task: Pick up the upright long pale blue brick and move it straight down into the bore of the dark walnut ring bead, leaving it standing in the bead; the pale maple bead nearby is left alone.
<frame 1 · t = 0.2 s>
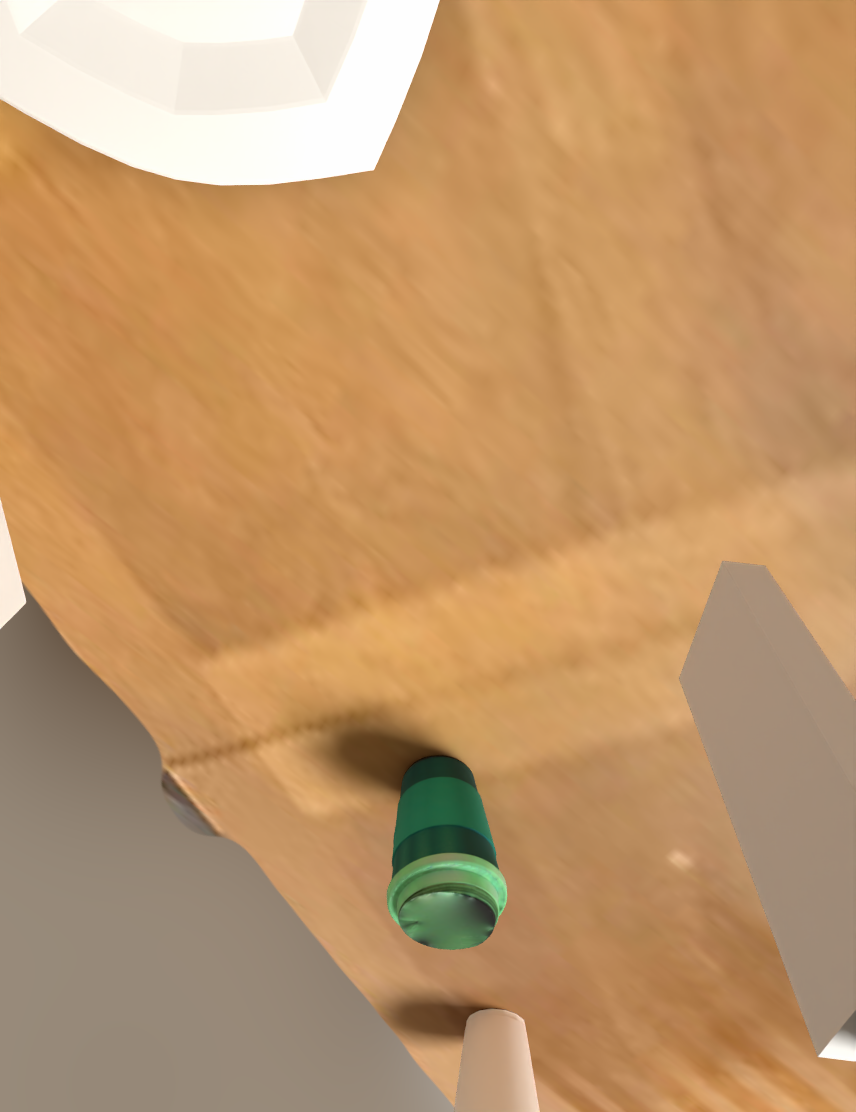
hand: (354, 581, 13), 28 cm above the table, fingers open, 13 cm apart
cup: (452, 775, 55), on the table
foam cup: (495, 1022, 74), on the table
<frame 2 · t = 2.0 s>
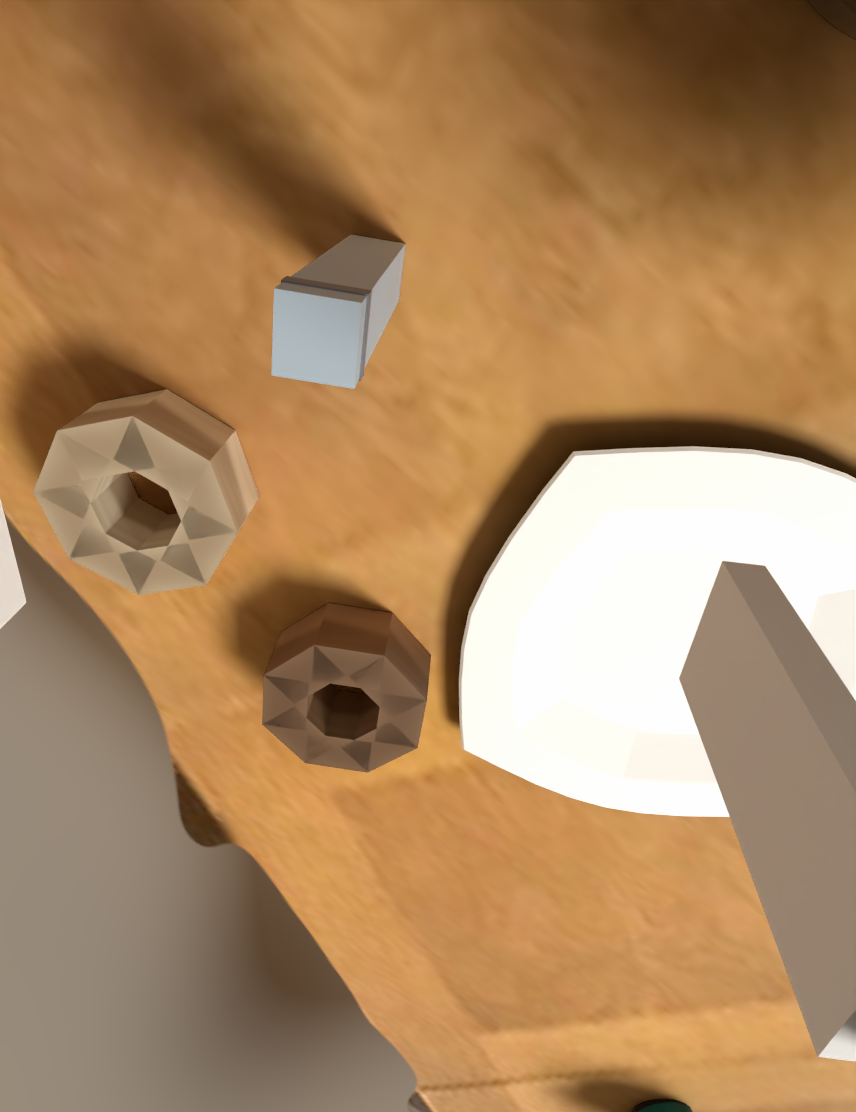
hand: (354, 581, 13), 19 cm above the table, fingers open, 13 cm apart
maple bead: (167, 478, 33), on the table
cup: (672, 1109, 64), on the table
long pale blue brick: (375, 268, 28), on the table
walnut bead: (353, 667, 39), on the table
plate: (676, 637, 37), on the table
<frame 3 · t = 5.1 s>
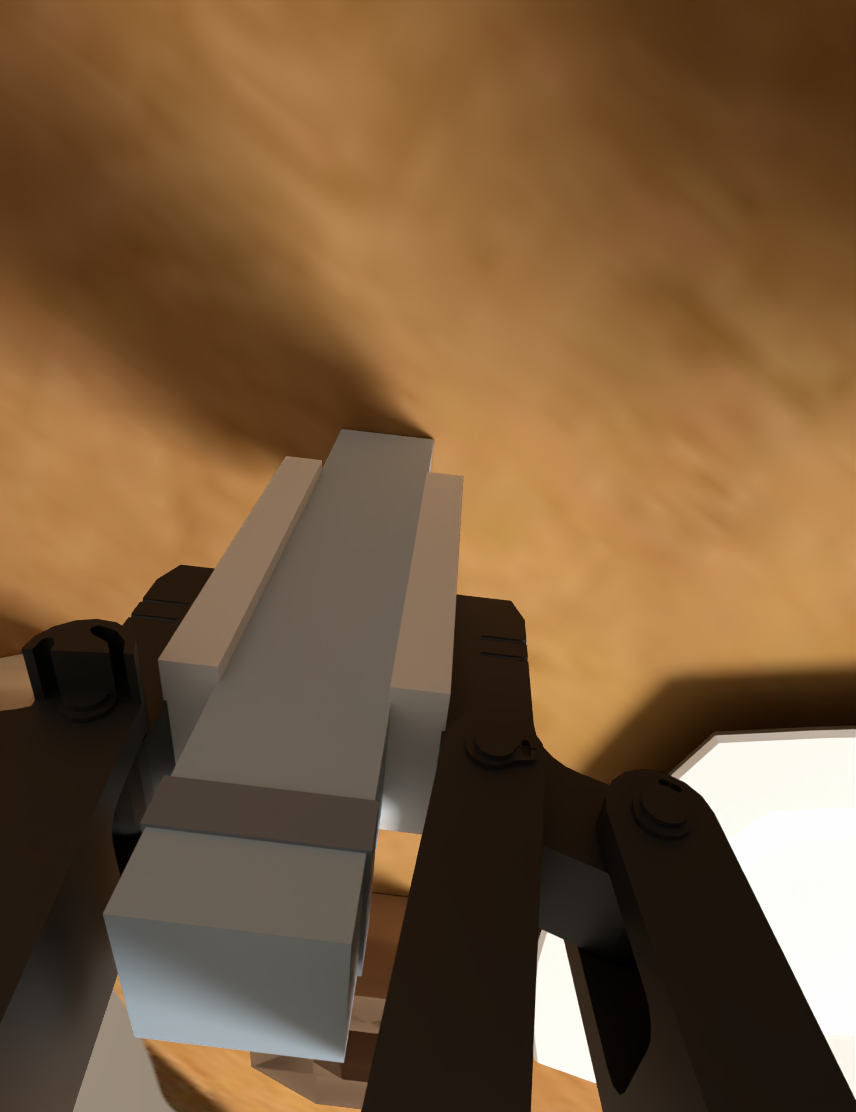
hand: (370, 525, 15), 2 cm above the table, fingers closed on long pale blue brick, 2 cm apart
maple bead: (92, 751, 23), on the table
long pale blue brick: (384, 476, 17), on the table, touching gripper
walnut bead: (377, 956, 28), on the table
plate: (845, 920, 25), on the table
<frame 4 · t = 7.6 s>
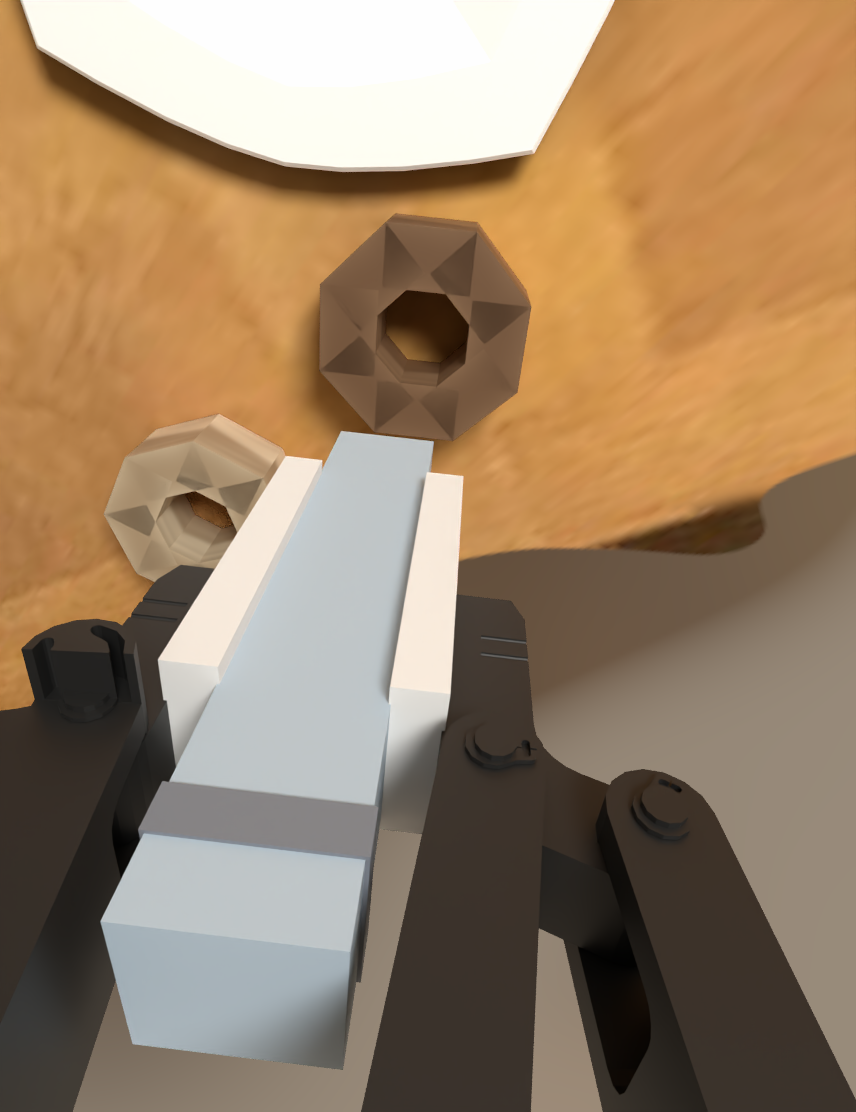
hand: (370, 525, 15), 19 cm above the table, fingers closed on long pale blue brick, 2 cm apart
maple bead: (220, 495, 36), on the table
long pale blue brick: (384, 478, 17), point 17 cm above the table, touching gripper
walnut bead: (427, 320, 31), on the table
when the fingers open (4 cm above the table, at t = 10.2 s): long pale blue brick drops 2 cm, resting in walnut bead.
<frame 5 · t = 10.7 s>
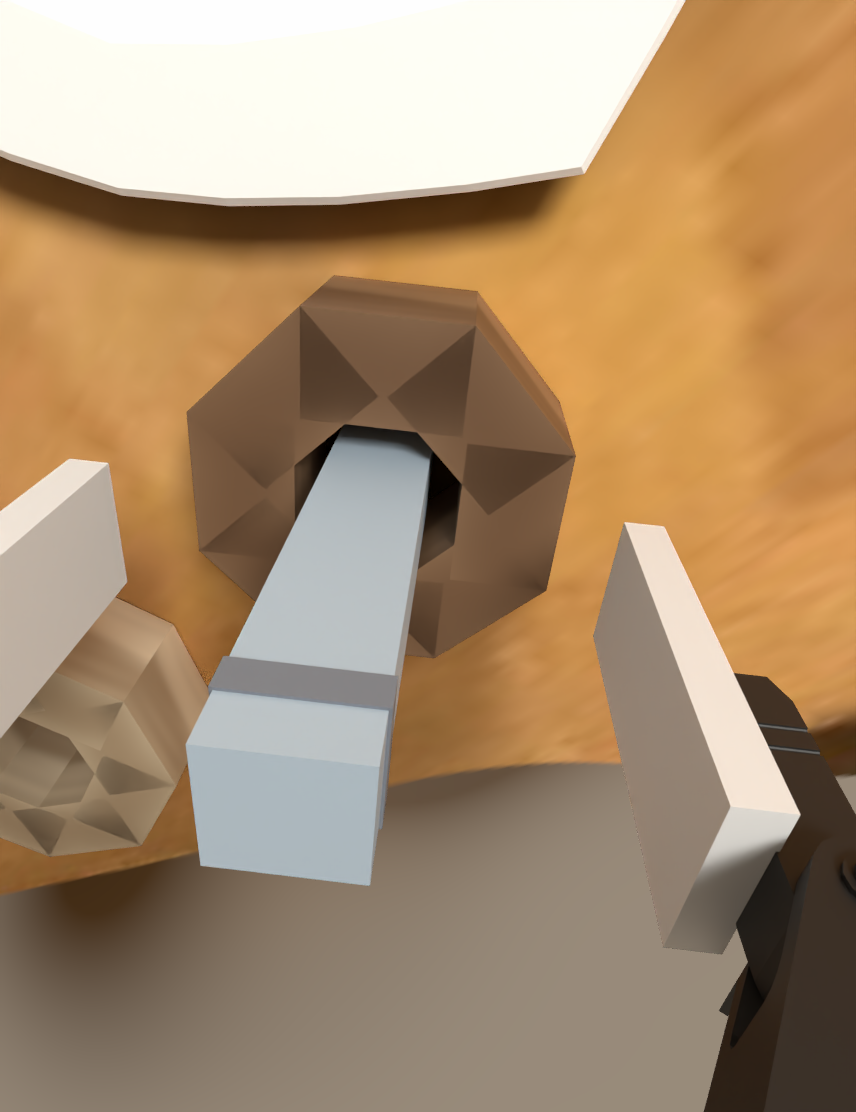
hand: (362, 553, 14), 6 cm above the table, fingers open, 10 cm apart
maple bead: (86, 683, 24), on the table
long pale blue brick: (393, 446, 19), resting in walnut bead
walnut bead: (393, 446, 19), on the table
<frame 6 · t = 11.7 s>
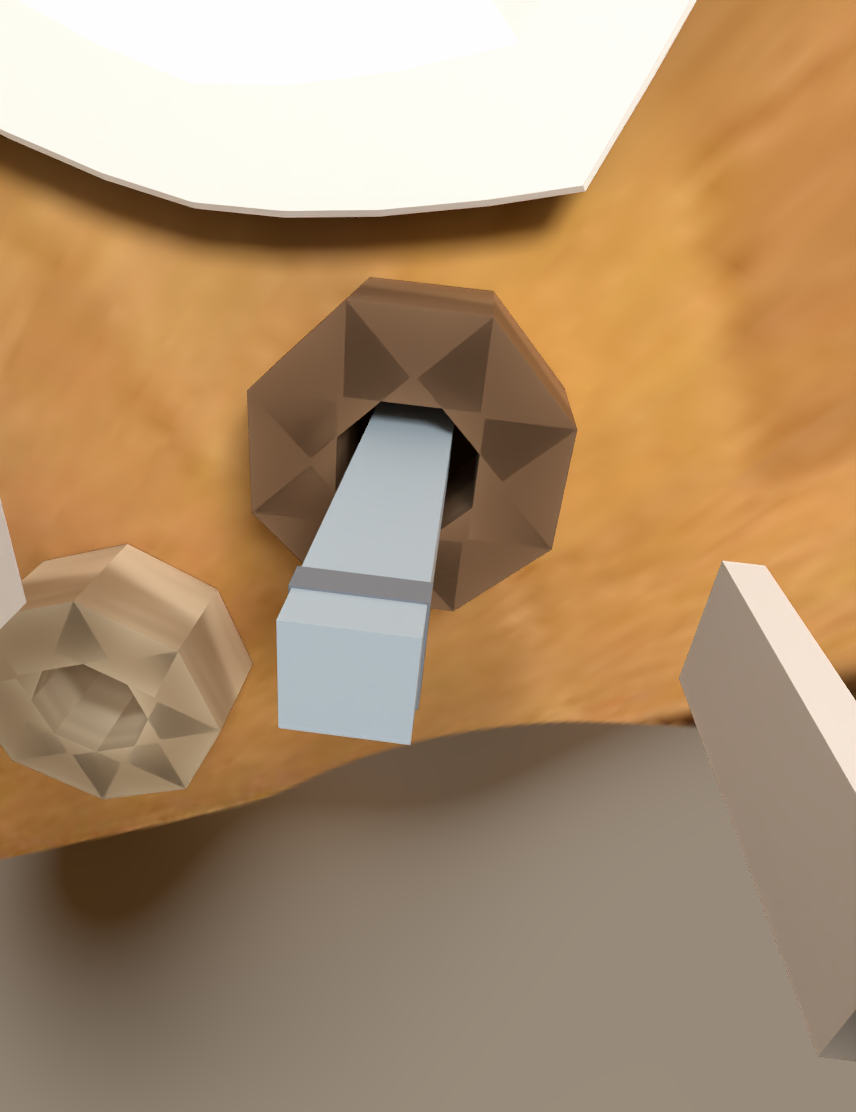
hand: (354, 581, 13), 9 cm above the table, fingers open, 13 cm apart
maple bead: (137, 644, 26), on the table
long pale blue brick: (418, 427, 21), resting in walnut bead
walnut bead: (418, 427, 21), on the table
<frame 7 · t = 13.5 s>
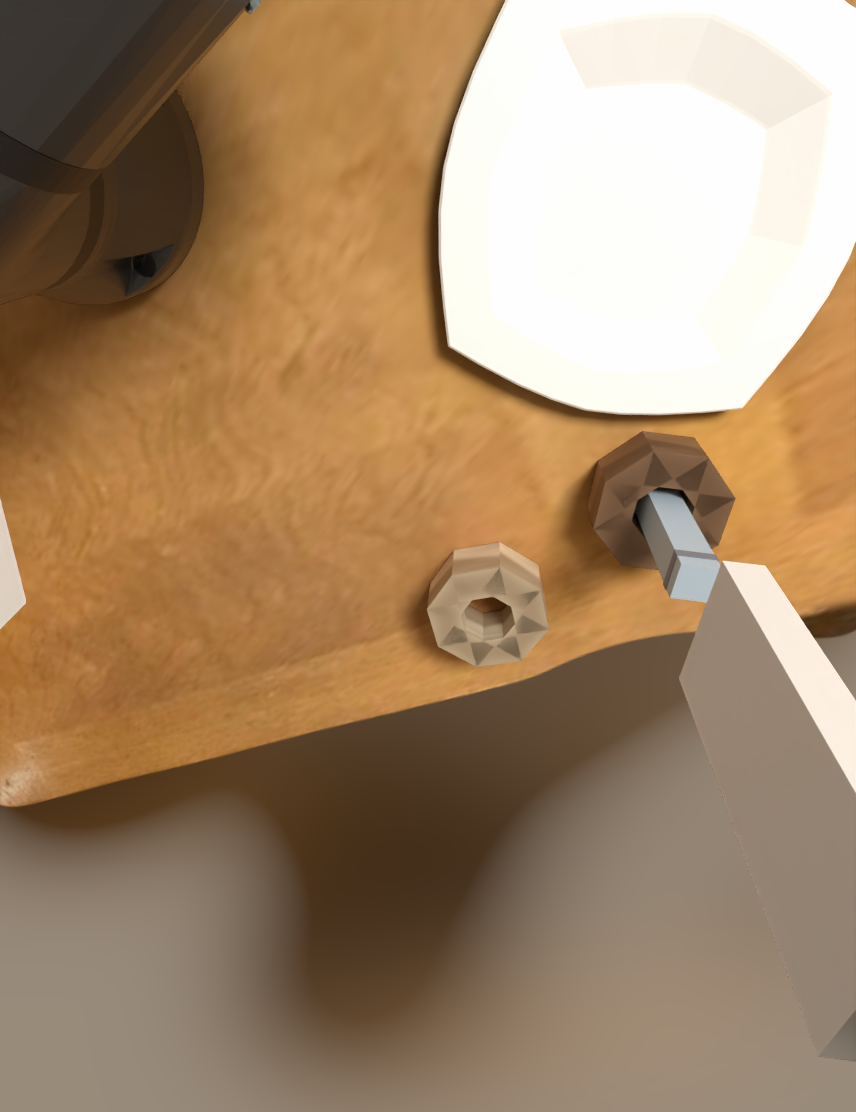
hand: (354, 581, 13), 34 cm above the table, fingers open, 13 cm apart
maple bead: (488, 592, 53), on the table
long pale blue brick: (651, 491, 48), resting in walnut bead
walnut bead: (651, 491, 48), on the table
plate: (641, 210, 40), on the table
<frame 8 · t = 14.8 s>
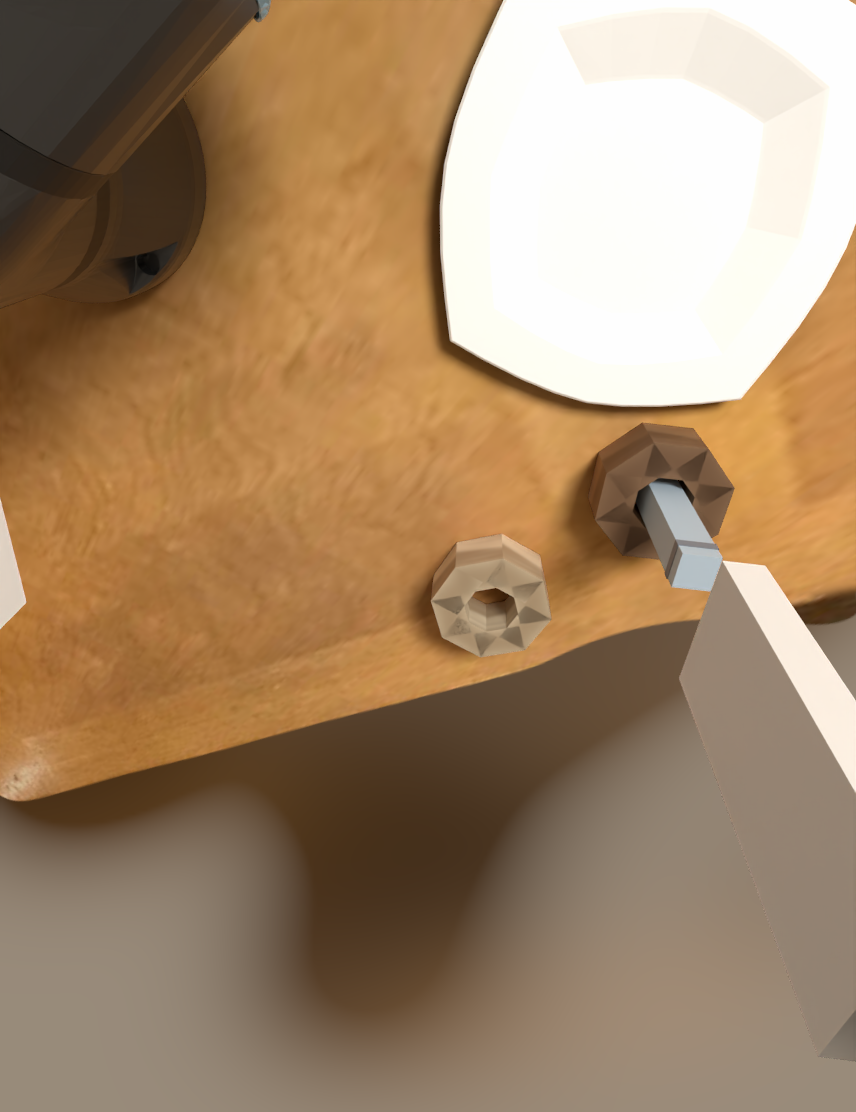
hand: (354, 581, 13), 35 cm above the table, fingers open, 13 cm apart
maple bead: (490, 583, 54), on the table
long pale blue brick: (651, 481, 49), resting in walnut bead
walnut bead: (651, 481, 49), on the table
plate: (640, 203, 40), on the table
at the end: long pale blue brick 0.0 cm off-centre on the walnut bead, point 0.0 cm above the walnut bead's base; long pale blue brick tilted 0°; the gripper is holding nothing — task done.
